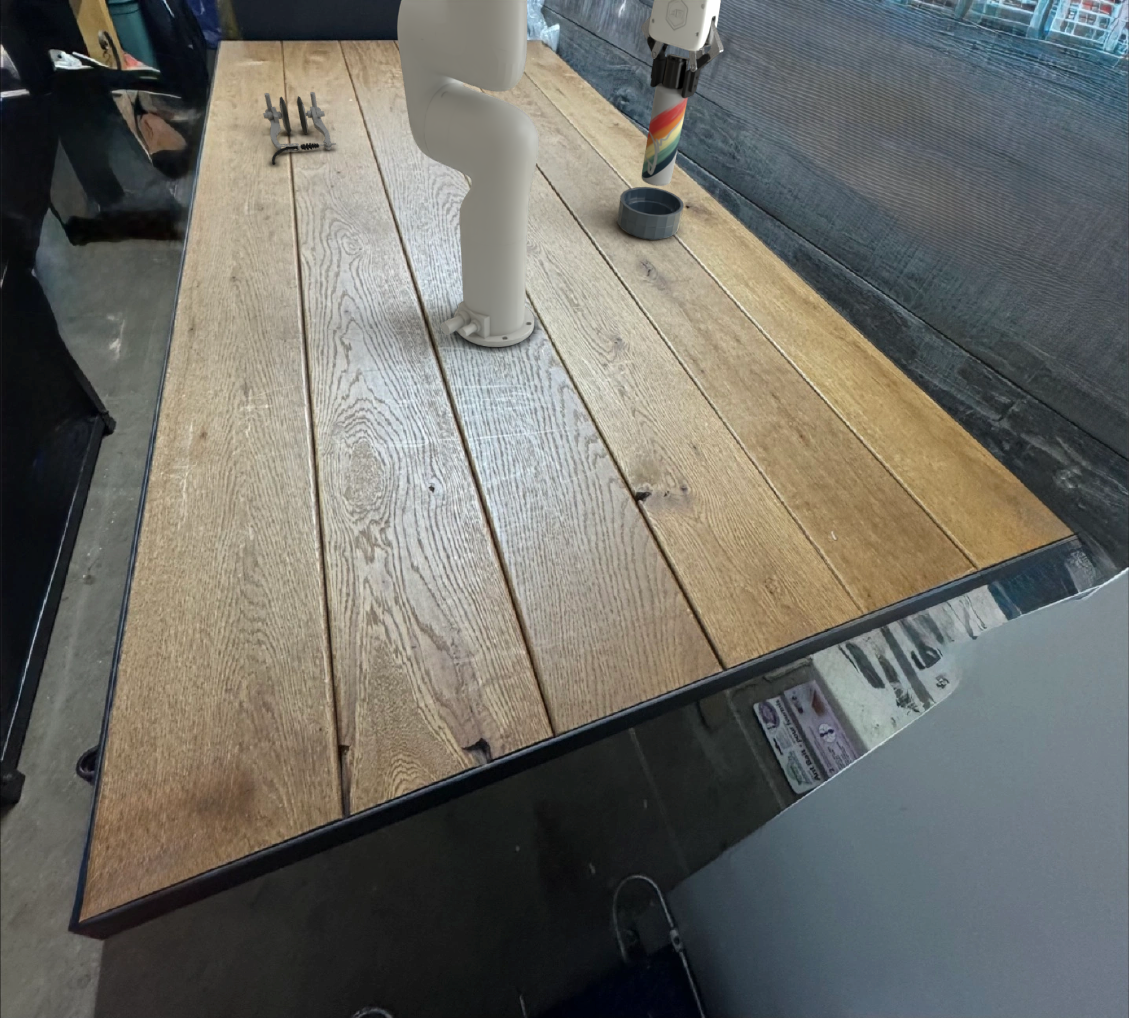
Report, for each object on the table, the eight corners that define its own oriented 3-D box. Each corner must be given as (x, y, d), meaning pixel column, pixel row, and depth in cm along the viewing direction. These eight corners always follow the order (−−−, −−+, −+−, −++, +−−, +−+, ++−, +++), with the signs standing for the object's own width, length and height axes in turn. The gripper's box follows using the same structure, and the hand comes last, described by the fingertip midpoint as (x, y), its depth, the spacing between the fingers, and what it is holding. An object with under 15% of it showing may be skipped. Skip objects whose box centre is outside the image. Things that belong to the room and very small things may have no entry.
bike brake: (261, 121, 144) (274, 174, 135) (254, 88, 138) (267, 141, 129) (325, 119, 148) (342, 170, 139) (321, 87, 142) (338, 138, 133)
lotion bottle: (636, 180, 121) (656, 54, 106) (647, 170, 125) (669, 46, 109) (664, 189, 120) (688, 62, 104) (675, 178, 123) (700, 54, 108)
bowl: (655, 248, 123) (660, 222, 120) (604, 225, 128) (607, 199, 124) (689, 227, 130) (695, 202, 126) (639, 206, 134) (644, 181, 131)
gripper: (635, -57, 98) (618, 81, 112) (734, -31, 92) (703, 111, 106) (663, -61, 102) (643, 72, 116) (759, -37, 96) (726, 101, 110)
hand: (672, 89), depth 111 cm, fingers closed on lotion bottle, 5 cm apart
